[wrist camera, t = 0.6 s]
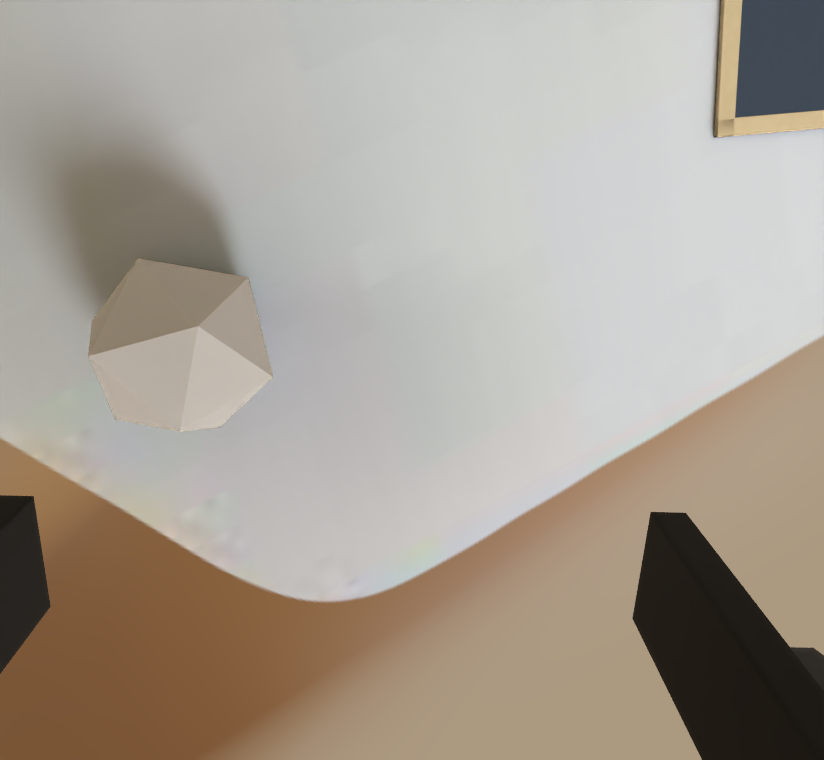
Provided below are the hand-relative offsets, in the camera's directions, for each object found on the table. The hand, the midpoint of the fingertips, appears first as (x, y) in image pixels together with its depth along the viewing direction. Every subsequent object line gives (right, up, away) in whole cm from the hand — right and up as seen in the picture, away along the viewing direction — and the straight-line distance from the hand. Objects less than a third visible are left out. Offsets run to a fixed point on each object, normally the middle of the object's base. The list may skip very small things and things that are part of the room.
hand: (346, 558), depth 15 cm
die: (-10, +7, +25) cm, 28 cm away
